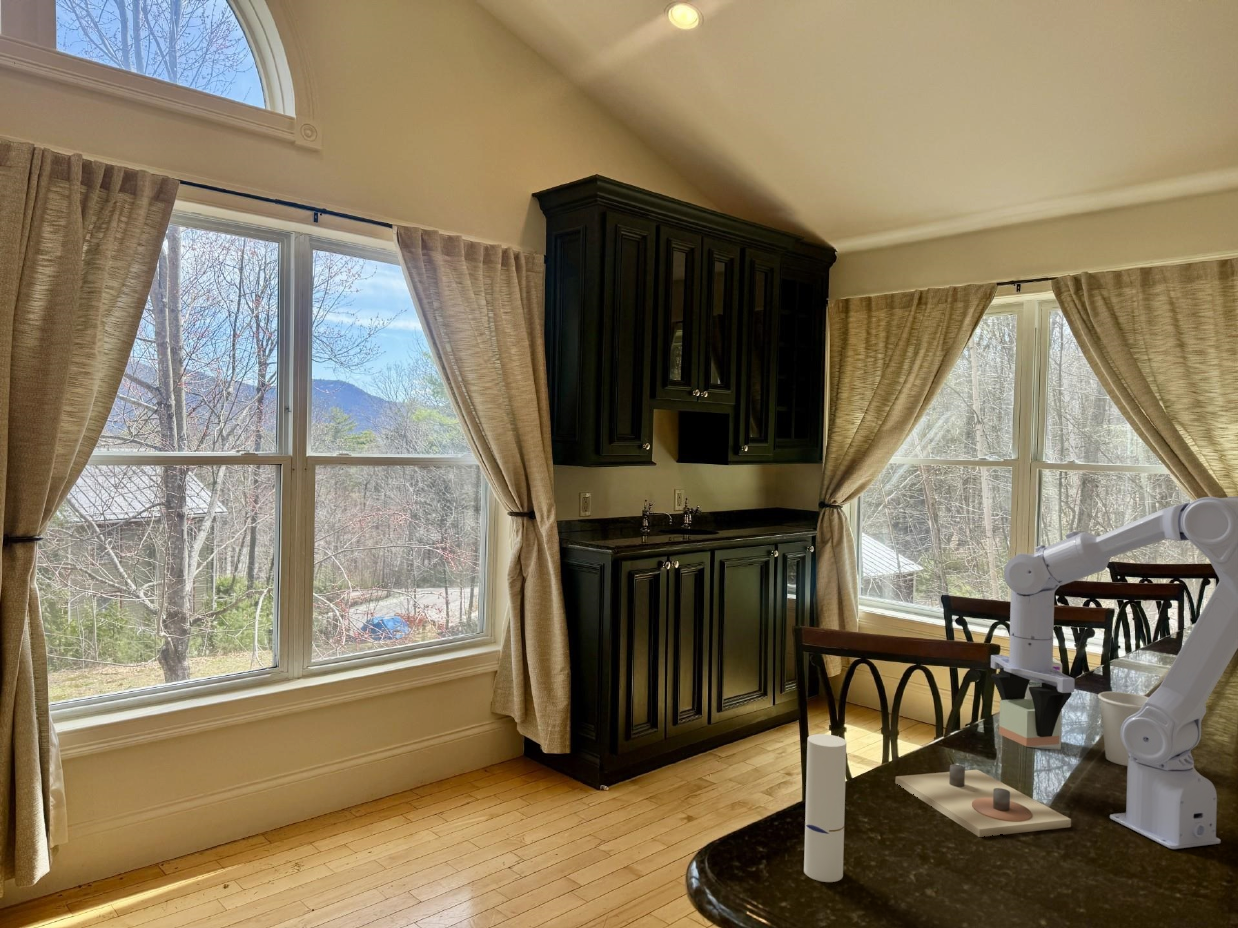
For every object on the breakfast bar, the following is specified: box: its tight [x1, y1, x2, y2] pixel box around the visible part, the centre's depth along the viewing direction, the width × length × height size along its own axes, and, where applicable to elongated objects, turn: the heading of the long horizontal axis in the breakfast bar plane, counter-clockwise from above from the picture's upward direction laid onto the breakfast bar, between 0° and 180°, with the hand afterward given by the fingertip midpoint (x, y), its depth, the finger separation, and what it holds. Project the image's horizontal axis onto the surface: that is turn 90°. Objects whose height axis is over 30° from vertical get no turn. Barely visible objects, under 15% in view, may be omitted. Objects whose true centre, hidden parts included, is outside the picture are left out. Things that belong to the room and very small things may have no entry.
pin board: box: [894, 763, 1072, 838], centre depth 117 cm, size 18×14×4 cm
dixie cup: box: [1097, 691, 1150, 767], centre depth 136 cm, size 8×8×10 cm
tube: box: [803, 733, 847, 883], centre depth 96 cm, size 4×4×15 cm
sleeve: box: [998, 698, 1060, 747], centre depth 124 cm, size 6×6×5 cm
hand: (1028, 729), depth 124 cm, fingers closed on sleeve, 6 cm apart
